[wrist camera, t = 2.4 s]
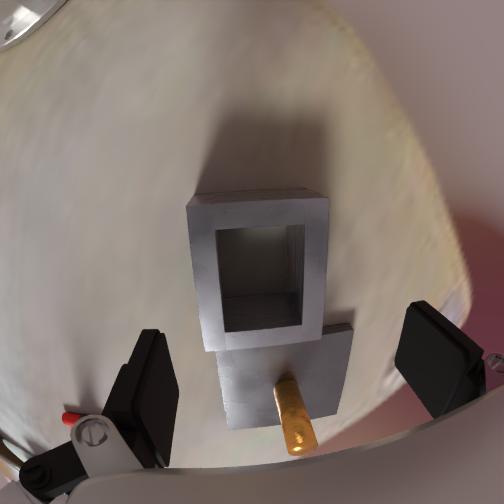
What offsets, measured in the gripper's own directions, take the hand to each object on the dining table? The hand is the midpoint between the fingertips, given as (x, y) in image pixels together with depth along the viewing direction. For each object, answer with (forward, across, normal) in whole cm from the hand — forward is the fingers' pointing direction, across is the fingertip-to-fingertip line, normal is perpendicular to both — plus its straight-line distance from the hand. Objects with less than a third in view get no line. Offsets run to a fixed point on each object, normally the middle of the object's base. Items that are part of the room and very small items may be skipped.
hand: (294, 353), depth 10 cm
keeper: (+9, -1, +10) cm, 14 cm away
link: (+9, +1, -1) cm, 9 cm away
